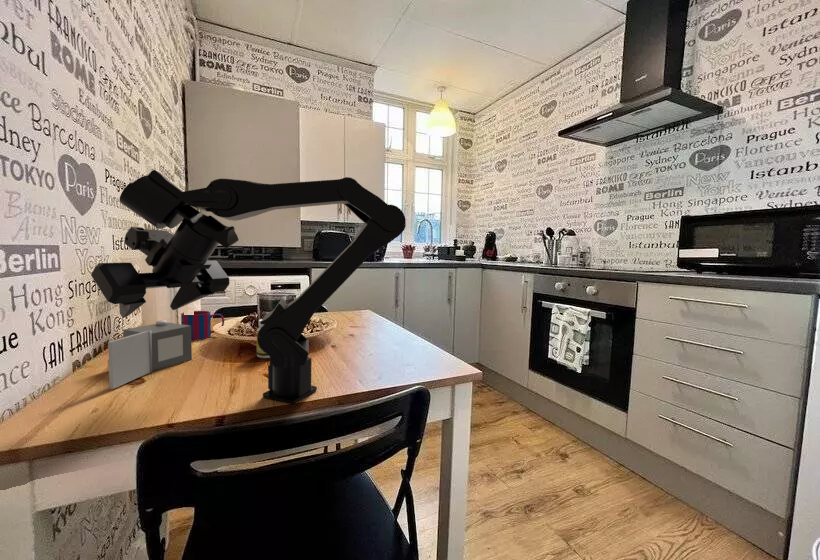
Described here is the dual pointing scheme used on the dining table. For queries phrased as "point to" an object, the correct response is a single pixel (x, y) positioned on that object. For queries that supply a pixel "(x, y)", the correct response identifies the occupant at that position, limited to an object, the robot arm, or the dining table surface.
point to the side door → (129, 358)
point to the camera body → (166, 343)
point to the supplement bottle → (259, 350)
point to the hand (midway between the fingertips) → (148, 311)
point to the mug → (199, 324)
